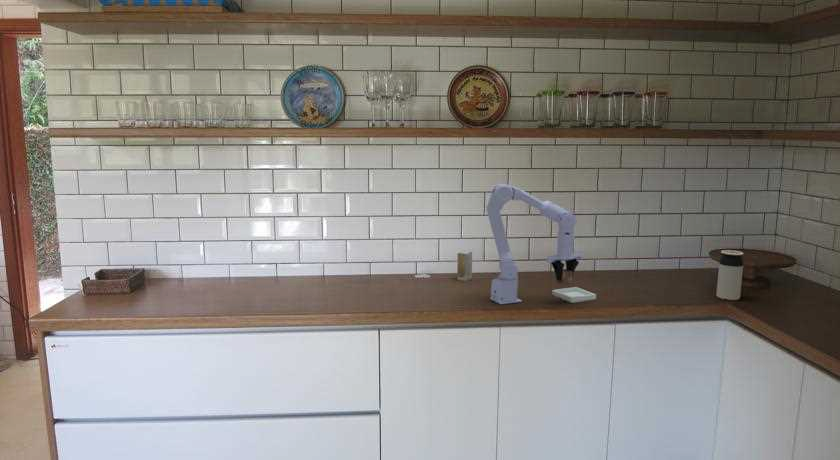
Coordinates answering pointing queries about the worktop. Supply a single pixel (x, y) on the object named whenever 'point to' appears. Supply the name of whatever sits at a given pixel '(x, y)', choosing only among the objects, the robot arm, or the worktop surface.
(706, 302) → the worktop surface
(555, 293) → the tray
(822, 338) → the worktop surface
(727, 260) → the travel mug
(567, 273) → the walnut block
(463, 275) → the skincare box
